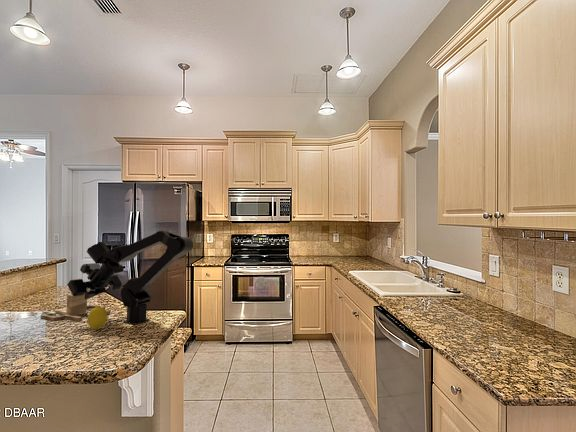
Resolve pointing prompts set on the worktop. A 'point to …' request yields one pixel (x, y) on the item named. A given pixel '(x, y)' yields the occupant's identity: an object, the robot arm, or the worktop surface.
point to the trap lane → (52, 315)
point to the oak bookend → (74, 306)
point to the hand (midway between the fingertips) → (85, 298)
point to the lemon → (97, 317)
